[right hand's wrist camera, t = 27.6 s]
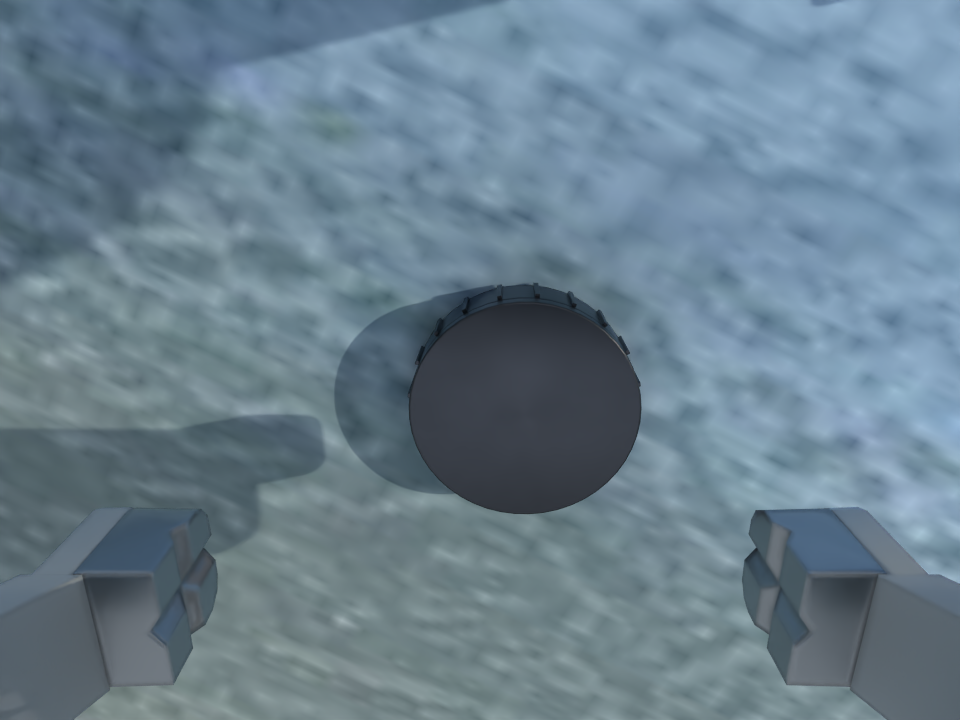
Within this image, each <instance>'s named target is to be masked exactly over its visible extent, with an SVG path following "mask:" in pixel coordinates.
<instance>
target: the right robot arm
mask: <svg viewBox="0 0 960 720" xmlns="http://www.w3.org/2000/svg"><path fill="white" fill-rule="evenodd" d="M210 536H211V530H210V525H209V520H208V516H207V514H206V513H205V512H204V511H203V510H202V509H171V508H131V507H124V508H100V509H96V510H93V511H92V512H91V513H90V514H89V516H88V517H87V518H86V519H85V520H84V521H83V522H82V523H81V524H80V525H79V526H78V527H77V528H76V529H75V530H74V531H73V532H72V533H71V534H70V535H69V536H68V537H67V538H66V539H65V540H64V541H63V542H62V543H61V545H60V546H59V547H58V548H57V549H56V550H55V551H54V552H53V553H52V554H51V555H50V556H49V557H48V558H47V559H46V560H45V561H44V562H43V563H42V564H41V565H40V566H39V567H38V568H37V569H36V570H35V571H34V573H33V574H32V575H18V576H16V577H14V578H12V579H10V580H8V581H6V582H3V583H1V584H0V720H73V719H75V718H76V717H77V716H78V715H80V714H81V713H82V712H83V711H85V710H86V709H87V708H88V707H89V706H91V705H92V704H93V703H94V702H96V701H97V700H98V699H99V698H101V697H102V696H103V695H104V694H106V693H107V692H108V691H109V690H110V688H109V687H119V686H154V685H174V683H175V681H176V679H177V677H178V675H179V673H180V672H181V670H182V668H183V666H184V664H185V662H186V660H187V658H188V657H189V655H190V653H191V651H192V649H193V645H192V639H191V634H193V633H194V632H196V631H197V630H198V629H200V628H201V627H203V626H204V625H205V624H206V622H207V620H208V618H209V616H210V614H211V612H212V610H213V607H214V602H215V598H216V594H217V576H218V574H217V567H216V560H215V559H214V558H213V557H212V556H211V555H210V554H209V553H208V552H207V551H206V550H205V549H204V548H203V547H204V546H205V544H206V542H207V541H208V539H209V537H210ZM749 536H750V537H751V539H752V541H753V542H754V544H755V546H756V547H757V548H756V549H755V550H754V551H753V552H752V553H751V554H750V555H749V556H748V557H747V558H746V559H745V560H744V568H743V576H742V583H743V593H744V600H745V603H746V606H747V610H748V613H749V615H750V617H751V619H752V621H753V623H754V625H756V626H757V627H759V628H760V629H762V630H763V631H764V632H766V633H767V634H769V639H768V645H767V649H768V651H769V653H770V655H771V657H772V658H773V660H774V662H775V664H776V666H777V668H778V670H779V671H780V673H781V675H782V677H783V679H784V681H785V683H786V684H787V685H805V686H840V687H850V690H851V691H852V692H853V693H855V694H856V695H857V696H858V697H860V698H861V699H862V700H863V701H865V702H866V703H867V704H868V705H870V706H871V707H872V708H873V709H874V710H876V711H877V712H878V713H879V714H881V715H882V716H883V717H884V718H886V719H887V720H960V584H959V583H957V582H954V581H952V580H950V579H948V578H946V577H944V576H942V575H928V574H927V572H926V571H925V570H924V569H923V568H922V567H921V566H920V565H919V564H918V563H917V562H916V561H915V560H914V559H913V558H912V557H911V556H910V555H909V554H908V553H907V552H906V551H905V550H904V549H903V548H902V547H901V545H900V544H899V543H898V542H897V541H896V540H895V539H894V538H893V537H892V536H891V535H890V534H889V533H888V532H887V531H886V530H885V529H884V528H883V527H882V526H881V525H880V524H879V523H878V522H877V521H876V520H875V518H874V517H873V516H872V515H871V514H870V513H869V512H868V511H866V510H864V509H861V508H859V507H847V508H824V509H788V510H756V511H755V513H754V515H753V517H752V519H751V524H750V530H749Z"/></svg>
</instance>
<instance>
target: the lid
mask: <svg viewBox="0 0 960 720" xmlns="http://www.w3.org/2000/svg"><path fill="white" fill-rule="evenodd" d="M628 354H630V352H629V350H628V348H627V346H626V344H625V343H624V341H623V339H622V337H621V336H619V337H617V335H616V333H615V332H614V331H613V329H612V328H611V327H610V325H609V324H608V323H607V321H606V320H605V317H604V315H603V313H602V312H601V311H600V310H598V311H597V312H596V311H595V310H594V309H593V308H591V307H590V306H589V305H587V304H586V303H584V302H582V301H581V300H579V299H577V298H576V297H574V295H573V293H572V292H570V291H569V292H568V294H566V293H564V292H562V291H558V290H555V289H551V288H547V287H540V286H538V283H534V284H533V285H517V286H508V287H502V285H498V286H497V289H494V290H490V291H487V292H484V293H482V294H479V295H477V296H475V297H473V298H471V299H469V298H468V297H466V298H465V299H464V302H463V303H462V304H461V305H460V306H458V307H457V308H456V309H454V310H453V311H451V312H450V313H449V314H448V315H447V316H446V317H445V318H444V319H443V320H442V319H441V318H440V319H439V320H438V322H437V325H436V328H435V330H434V331H433V333H432V335H431V336H430V338H429V340H428V342H427V343H426V346H425V347H423V346H421V349H420V351H419V354H418V357H417V360H416V362H415V364H416V365H418V367H417V370H416V373H415V375H414V378H413V381H412V384H411V387H410V389H409V392H408V397H410V399H409V420H410V425H411V431H412V434H413V437H414V440H415V443H416V446H417V448H418V450H419V452H420V454H421V456H422V458H423V460H424V461H425V463H426V464H427V466H428V467H429V469H430V470H431V471H432V472H433V473H434V474H435V476H436V477H437V478H438V479H439V480H440V481H441V482H442V483H443V484H444V485H446V486H447V487H448V488H449V489H450V490H452V491H453V492H455V493H456V494H458V495H459V496H461V497H462V498H464V499H466V500H468V501H470V502H472V503H474V504H476V505H479V506H482V507H484V508H487V509H491V510H495V511H499V512H505V513H513V514H535V513H545V512H549V511H554V510H558V509H561V508H564V507H567V506H570V505H573V504H575V503H577V502H579V501H581V500H583V499H585V498H587V497H588V496H590V495H591V494H593V493H595V492H596V491H597V490H599V489H600V488H601V487H602V486H604V485H605V484H606V483H607V482H608V481H609V480H610V479H611V478H612V477H613V476H614V475H615V474H616V473H617V472H618V470H619V469H620V468H621V466H622V465H623V464H624V462H625V461H626V459H627V457H628V455H629V453H630V452H631V450H632V448H633V445H634V442H635V440H636V437H637V434H638V430H639V425H640V419H641V394H640V389H639V386H641V385H640V381H639V379H638V377H637V375H636V373H635V371H634V369H633V366H632V364H631V362H630V360H629V358H628V356H627V355H628Z"/></svg>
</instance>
